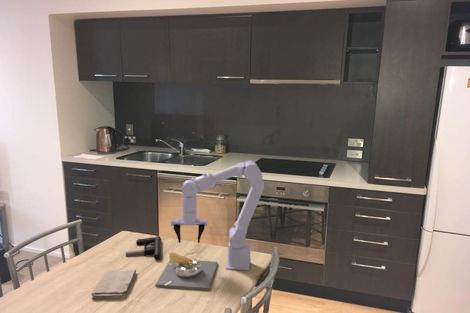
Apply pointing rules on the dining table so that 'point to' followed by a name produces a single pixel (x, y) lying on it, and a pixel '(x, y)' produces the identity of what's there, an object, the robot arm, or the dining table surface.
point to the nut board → (197, 283)
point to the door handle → (148, 250)
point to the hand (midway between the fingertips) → (189, 241)
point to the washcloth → (114, 284)
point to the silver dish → (185, 266)
